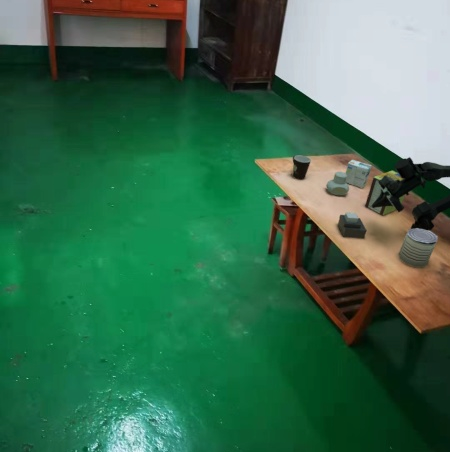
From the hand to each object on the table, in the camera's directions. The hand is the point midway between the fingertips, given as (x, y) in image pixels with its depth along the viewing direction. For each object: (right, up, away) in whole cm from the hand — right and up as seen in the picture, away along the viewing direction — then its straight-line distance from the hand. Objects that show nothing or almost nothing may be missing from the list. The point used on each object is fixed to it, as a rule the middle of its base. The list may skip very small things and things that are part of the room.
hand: (372, 206), depth 190 cm
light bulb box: (+6, +15, +47) cm, 50 cm away
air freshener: (-6, +9, +36) cm, 38 cm away
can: (+14, -22, -7) cm, 27 cm away
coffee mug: (-23, +19, +49) cm, 57 cm away
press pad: (-8, -6, +3) cm, 10 cm away
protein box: (+14, +2, +28) cm, 32 cm away
